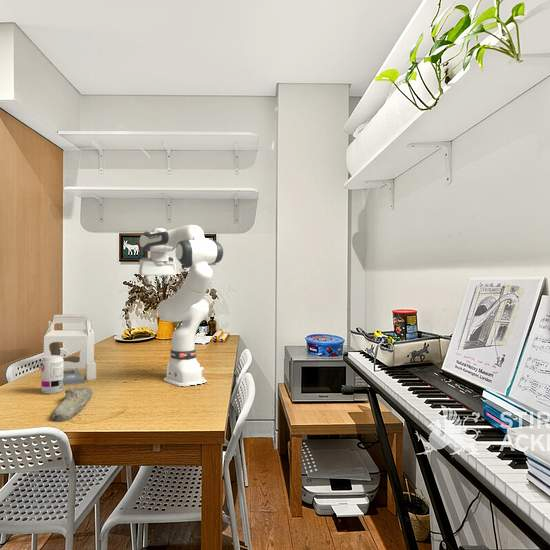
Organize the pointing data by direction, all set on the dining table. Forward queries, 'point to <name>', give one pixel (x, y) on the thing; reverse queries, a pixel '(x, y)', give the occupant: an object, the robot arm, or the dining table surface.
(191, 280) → the robot arm
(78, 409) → the elongated rock
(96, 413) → the dining table surface
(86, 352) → the gable box
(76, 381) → the power board
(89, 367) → the block
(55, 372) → the supplement can
